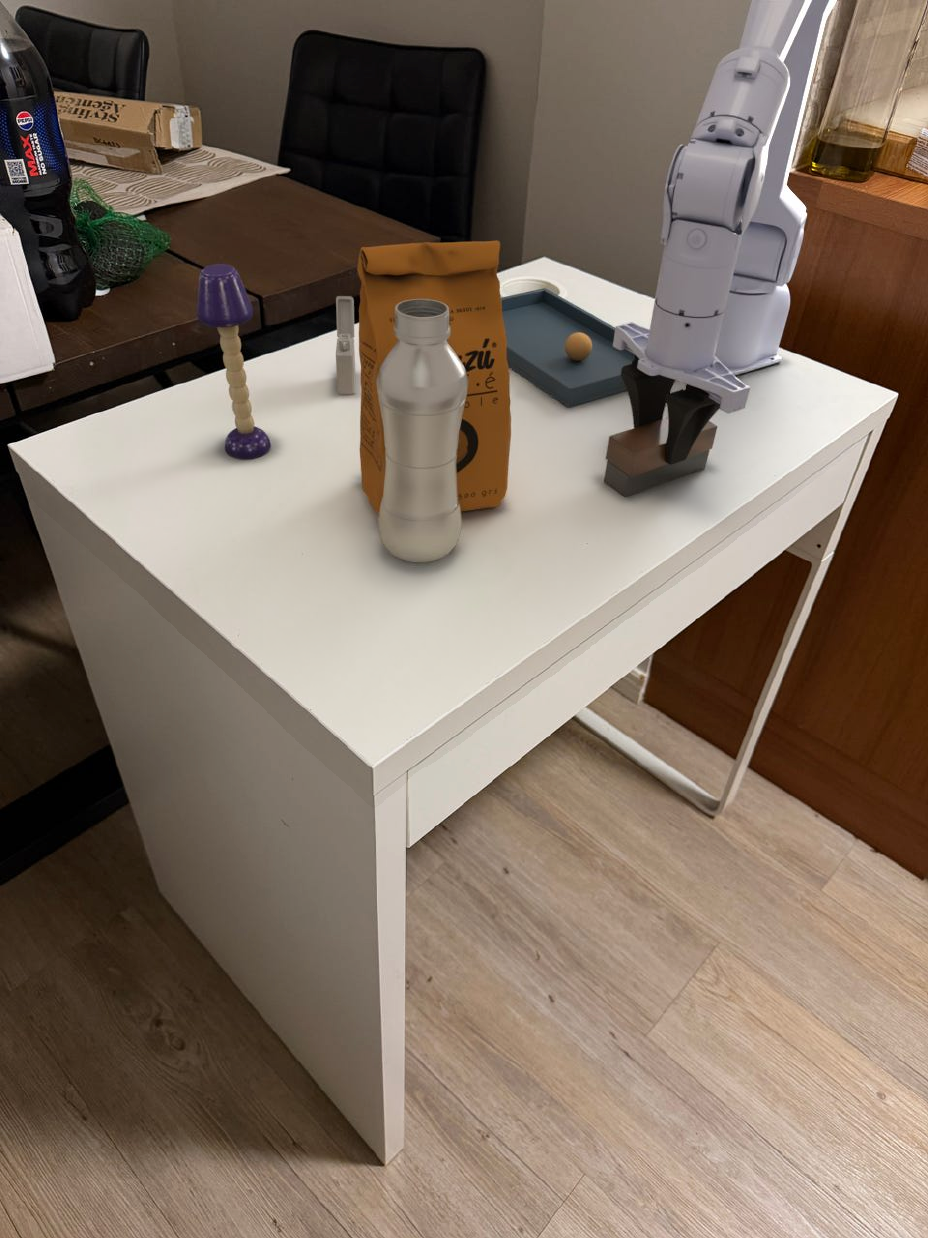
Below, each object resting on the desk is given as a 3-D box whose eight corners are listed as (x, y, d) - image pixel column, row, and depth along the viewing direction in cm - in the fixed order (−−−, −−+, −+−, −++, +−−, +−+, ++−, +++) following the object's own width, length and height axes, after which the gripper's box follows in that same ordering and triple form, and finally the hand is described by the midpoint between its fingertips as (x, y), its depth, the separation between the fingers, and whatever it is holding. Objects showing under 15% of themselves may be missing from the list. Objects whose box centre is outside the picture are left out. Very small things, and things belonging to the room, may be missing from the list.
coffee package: (513, 522, 79) (537, 263, 64) (369, 533, 77) (360, 269, 62) (489, 461, 86) (505, 217, 72) (356, 470, 84) (346, 221, 70)
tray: (543, 304, 116) (545, 287, 114) (669, 377, 101) (673, 359, 100) (448, 325, 109) (448, 308, 108) (567, 407, 95) (570, 388, 94)
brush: (681, 452, 89) (691, 409, 86) (707, 469, 87) (718, 425, 84) (601, 480, 84) (609, 435, 81) (626, 498, 82) (635, 453, 79)
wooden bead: (578, 351, 104) (582, 325, 102) (595, 361, 102) (599, 335, 100) (557, 357, 103) (560, 331, 101) (574, 367, 101) (577, 341, 99)
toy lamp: (226, 464, 84) (199, 282, 73) (212, 440, 87) (184, 263, 76) (277, 453, 86) (257, 274, 75) (261, 430, 89) (240, 255, 78)
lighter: (354, 394, 95) (351, 319, 90) (337, 394, 95) (333, 319, 90) (356, 364, 101) (353, 291, 95) (340, 363, 100) (336, 291, 95)
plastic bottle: (378, 528, 77) (371, 290, 65) (458, 526, 78) (466, 291, 65) (379, 573, 72) (372, 326, 60) (464, 571, 73) (475, 326, 60)
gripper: (595, 282, 78) (576, 425, 87) (718, 347, 69) (683, 500, 78) (657, 268, 81) (633, 408, 90) (783, 329, 72) (741, 478, 81)
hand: (660, 450), depth 84 cm, fingers closed on brush, 3 cm apart
